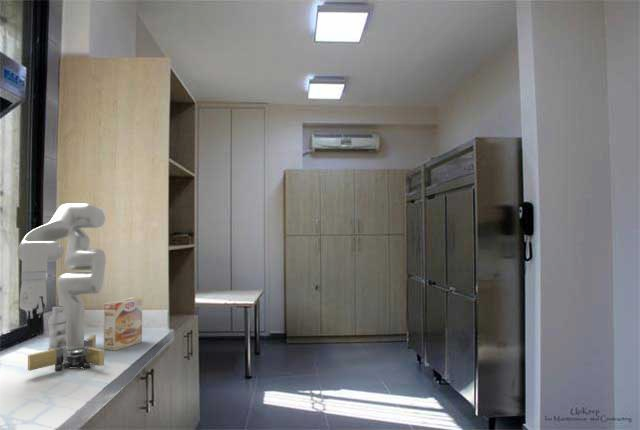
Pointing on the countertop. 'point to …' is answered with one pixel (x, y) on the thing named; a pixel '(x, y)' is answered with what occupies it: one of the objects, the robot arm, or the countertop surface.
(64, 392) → the countertop surface
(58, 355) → the brushed brass bar
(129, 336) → the coffeecake box
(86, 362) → the tan block
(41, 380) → the countertop surface
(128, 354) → the countertop surface
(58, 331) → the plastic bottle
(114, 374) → the countertop surface
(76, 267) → the robot arm
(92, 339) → the knob
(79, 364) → the tribrach base
